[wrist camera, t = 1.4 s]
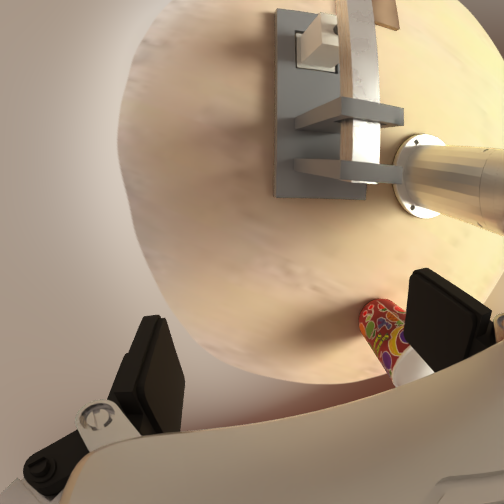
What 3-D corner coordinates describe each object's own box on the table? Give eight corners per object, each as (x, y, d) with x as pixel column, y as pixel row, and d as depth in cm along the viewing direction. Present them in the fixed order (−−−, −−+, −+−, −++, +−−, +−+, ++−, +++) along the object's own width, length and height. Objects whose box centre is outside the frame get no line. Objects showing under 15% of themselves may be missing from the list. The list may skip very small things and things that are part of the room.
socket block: (359, 27, 31) (420, -16, 16) (360, 198, 38) (432, 223, 24) (274, 13, 29) (307, -52, 15) (273, 196, 37) (311, 221, 22)
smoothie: (345, 306, 43) (415, 394, 24) (390, 281, 43) (475, 350, 24) (357, 345, 46) (417, 430, 27) (399, 321, 46) (470, 393, 27)
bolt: (355, -19, 19) (377, -40, 15) (364, 181, 26) (393, 187, 21) (332, -25, 19) (351, -48, 14) (339, 179, 26) (364, 185, 21)
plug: (330, 42, 31) (365, 12, 22) (331, 74, 33) (369, 51, 23) (293, 36, 31) (320, 1, 21) (294, 69, 32) (322, 41, 22)
